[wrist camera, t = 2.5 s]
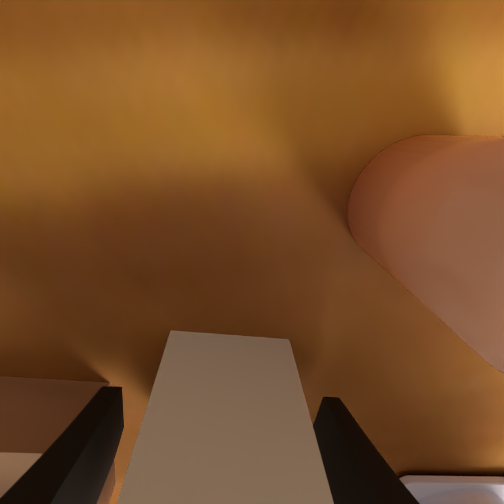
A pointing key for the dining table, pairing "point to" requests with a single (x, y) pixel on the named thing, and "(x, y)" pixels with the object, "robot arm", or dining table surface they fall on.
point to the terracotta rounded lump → (440, 229)
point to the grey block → (226, 427)
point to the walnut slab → (39, 422)
